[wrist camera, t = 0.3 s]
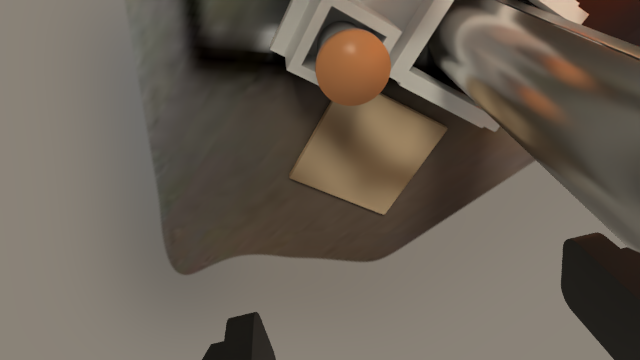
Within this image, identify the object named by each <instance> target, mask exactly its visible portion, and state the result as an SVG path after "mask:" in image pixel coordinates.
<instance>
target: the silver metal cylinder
mask: <svg viewBox="0 0 640 360" xmlns="http://www.w3.org/2000/svg"><path fill="white" fill-rule="evenodd" d="M429 49H430V54H431V57H432V59H433V61H434V63H435V65H436V66H437V67H438V68H440V69H441V70H442V71H443V72H444V73H445V74H446V75H447V76H448V77H449V78H450V79H451V80H452V81H453V82H454V83H455V84H456V85H457V86H458V87H459V88H461V89H462V90H463V91H464V92H465V93H466V94H467V95H468V96H469V97H470V98H471V99H472V100H473V101H474V102H475V103H476V104H477V105H478V106H480V107H481V108H482V109H483V110H484V111H485V112H486V113H487V114H488V115H489V116H490V117H491V118H492V119H493V120H494V121H495V122H496V123H497V124H498V125H500V126H501V127H502V128H503V129H504V130H505V131H506V132H507V133H508V134H509V135H510V136H511V137H512V138H513V139H514V140H515V141H516V142H517V143H519V144H520V145H521V146H522V147H523V148H524V149H525V150H526V151H527V152H528V153H529V154H530V155H531V156H532V157H533V158H534V159H535V160H536V161H537V162H539V163H540V164H541V165H542V166H543V167H544V168H545V169H546V170H547V171H548V172H549V173H550V174H551V175H552V176H553V177H554V178H555V179H556V180H558V181H559V182H560V183H561V184H562V185H563V186H564V187H565V188H566V189H567V190H568V191H569V192H570V193H571V194H572V195H573V196H575V198H576V199H578V200H579V201H580V202H581V203H582V204H583V205H584V206H585V207H586V208H587V209H588V210H589V211H590V212H591V213H592V214H593V215H594V216H595V217H597V218H598V219H599V220H600V221H601V222H602V223H603V224H604V225H605V226H606V227H607V228H608V229H609V230H610V231H611V232H612V233H613V234H615V236H617V237H618V238H619V239H620V240H621V241H622V242H623V243H624V244H625V245H626V246H627V247H628V248H630V249H632V250H635V251H637V252H639V253H640V47H638V46H635V45H633V44H630V43H628V42H625V41H622V40H620V39H617V38H614V37H612V36H609V35H606V34H604V33H601V32H599V31H596V30H593V29H591V28H588V27H585V26H583V25H580V24H577V23H575V22H572V21H570V20H567V19H564V18H562V17H559V16H556V15H554V14H551V13H548V12H546V11H543V10H540V9H538V8H535V7H533V6H530V5H527V4H525V3H522V2H519V1H517V0H454V1H453V3H452V4H451V6H450V7H449V9H448V10H447V12H446V14H445V15H444V17H443V18H442V20H441V21H440V23H439V25H438V26H437V28H436V29H435V31H434V32H433V34H432V35H431V37H430V39H429Z"/></svg>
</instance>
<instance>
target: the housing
mask: <svg viewBox="0 0 640 360" xmlns="http://www.w3.org/2000/svg"><path fill="white" fill-rule="evenodd" d="M453 1H454V0H291V1H290V3H289V5H288V7H287V10H286V12H285V14H284V16H283V18H282V20H281V23H280V25H279V27H278V29H277V31H276V33H275V36H274V38H273V40H272V42H271V44H270V50H272V51H274V52H276V53H278V54H280V55H282V56H284V57H285V60H286V70H287V71H289V72H291V73H293V74H296V75H298V76H300V77H302V78H304V79H306V80H308V81H310V82H312V83H314V84H316V85H318V86H319V84H318V81H317V77H316V73H315V61H316V57H317V54H318V52H317V41H318V37H319V35H320V33H321V32H322V30H323V29H324V28H325V27H326V26H328V25H329V24H331V23H333V22H336V21H349V22H351V23H354V24H355V25H356V26H358V27H359V28H360V29H363V30H366V31H368V32H371V33H372V34H374V35H375V36H376V37H377V38H378V39H379V40H380V41H381V42H382V43H383V45H384V46H385V47H386V49H387V51H388V53H389V56H390V61H391V71H390V76H389V77H390V78H392V79H394V80H396V81H397V83H398V84H399V85H400V86H402V87H404V88H405V89H407V90H409V91H411V92H413V93H415V94H417V95H419V96H421V97H423V98H425V99H427V100H428V101H430V102H432V103H434V104H436V105H438V106H440V107H442V108H444V109H446V110H448V111H450V112H452V113H453V114H455V115H457V116H459V117H461V118H463V119H465V120H467V121H469V122H471V123H473V124H475V125H476V126H478V127H480V128H483V127H486V128H488V129H490V130H492V131H494V132H496V130H497V129H498V128H499V127H500V125H498V124H497V123H496V122H495V121H494V120H493V119H492V118H491V117H490V116H489V115H488V114H487V113H486V112H485V111H484V110H483V109H482V108H481V107H480V106H478V105H477V104H476V103H475V102H474V101H473V100H472V99H471V98H470V97H468V96H466V95H464V94H463V93H461V92H459V91H457V90H455V89H453V88H452V87H450V86H448V85H446V84H444V83H442V82H441V81H439V80H437V79H435V78H433V77H431V76H430V75H428V74H426V73H424V72H422V71H420V70H419V69H417V68H415V67H413V66H412V65H413V64H414V62H415V60H416V59H417V57H418V56H419V54H420V53H421V51H422V49H423V48H424V46H425V45H426V43H427V42H428V40H429V39H430V37H431V35H432V34H433V32H434V31H435V29H436V28H437V26H438V25H439V23H440V21H441V20H442V18H443V17H444V15H445V14H446V12H447V10H448V9H449V7H450V6H451V4H452V3H453ZM528 1H530V2H531V3H533V4H534V5H536V6H537V7H539V8H540V9H541V10H543V11H546V12H548V13H551V14H554V15H556V16H559V17H562V18H564V19H567V20H570V21H572V22H575V23H577V24H580V25H581V24H582V23H583V22H584V20H585V19H586V18H587V17H588V15H589V14H588V13H586V12H585V11H583V10H582V9H581V8H579V7H578V5H579V3H578V2H577V1H576V0H528Z"/></svg>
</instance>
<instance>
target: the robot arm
mask: <svg viewBox="0 0 640 360" xmlns="http://www.w3.org/2000/svg"><path fill="white" fill-rule="evenodd" d="M562 259H563V260H562V276H561V289H562V293H563V296H564V299H565V301H566V303H567V304H568V306H569V308H570V309H571V310H572V311H573V313H574V314H575V315H576V316H577V317H578V318H579V319H580V321H581V322H582V323H583V324H584V325H585V326H586V327H587V329H588V330H589V331H590V332H591V333H592V335H593V336H594V337H595V338H596V339H597V340H598V341H599V343H600V344H601V345H602V346H603V347H604V348H605V349H606V351H607V352H608V353H609V354H610V355H611V357H612V358H613V359H614V360H640V253H639V252H637V251H635V250H632V249H630V248H628V247H626V248H622V249H620V248H619V247H618V246H616V245H615V244H614V243H613V242H612V241H610V240H609V239H608V238H607V237H605V236H604V235H602V234H601V233H592V234H588V235H584V236H579V237H576V238H571V239H567V240H566V241H565V242H564V245H563V258H562ZM202 360H276V359H275V355H274V351H273V349H272V346H271V344H270V341H269V339H268V336H267V333H266V331H265V328H264V326H263V323H262V320H261V318H260V316H259V314H258V313H257V312H254V313H249V314H245V315H242V316H237V317H233V318H229V319H228V321H227V325H226V332H225V339H224V341H223V342H219V343H214V344H211V346H210V347H209V349H208V350H207V352H206V354H205V356H204V357H203V359H202Z"/></svg>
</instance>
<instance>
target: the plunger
mask: <svg viewBox="0 0 640 360" xmlns="http://www.w3.org/2000/svg"><path fill="white" fill-rule="evenodd" d="M317 52H318V54H317V57H316V61H315V73H316V77H317V81H318V84H319V86H320V88H321V90H322V92H323V93H324V94H325V95H326V96H327V97H328V98H329V99H330V100H332V101H334V102H335V103H338V104H341V105H346V106H356V105H361V104H364V103H367V102H369V101H370V100H372V99H374V98H375V97H376V96H377V95H378V94H379V93H380V92H381V91H382V90H383V89H384V87H385V86H386V84H387V82H388V79H389V76H390V71H391V61H390V56H389V53H388V51H387V49H386V47H385V46H384V45H383V43H382V42H381V41H380V40H379V39H378V38H377V37H376V36H375V35H374V34H372V33H371V32H368V31H366V30H363V29H360V28H359V27H358V26H356V25H355V24H354V23H351V22H349V21H336V22H333V23H331V24H329V25H328V26H326V27H325V28H324V29H323V30H322V32H321V33H320V35H319V37H318V41H317Z"/></svg>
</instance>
